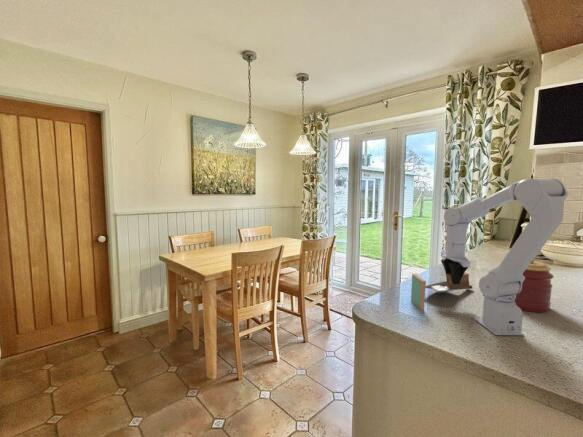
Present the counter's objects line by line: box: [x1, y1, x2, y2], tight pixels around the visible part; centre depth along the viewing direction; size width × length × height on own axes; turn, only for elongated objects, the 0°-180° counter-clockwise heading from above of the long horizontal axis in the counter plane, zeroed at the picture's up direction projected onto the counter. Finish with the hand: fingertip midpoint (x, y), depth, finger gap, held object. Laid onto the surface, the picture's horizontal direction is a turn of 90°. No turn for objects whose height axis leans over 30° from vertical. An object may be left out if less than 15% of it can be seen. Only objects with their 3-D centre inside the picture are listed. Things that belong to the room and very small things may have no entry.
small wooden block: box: [431, 271, 470, 293], centre depth 99 cm, size 5×11×5 cm, turn 89°
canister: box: [515, 258, 554, 313], centre depth 100 cm, size 13×13×18 cm
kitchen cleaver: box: [425, 280, 473, 290], centre depth 110 cm, size 24×1×10 cm
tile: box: [410, 273, 427, 311], centre depth 99 cm, size 8×1×10 cm, turn 179°
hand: (453, 282), depth 99 cm, fingers closed on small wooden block, 3 cm apart
